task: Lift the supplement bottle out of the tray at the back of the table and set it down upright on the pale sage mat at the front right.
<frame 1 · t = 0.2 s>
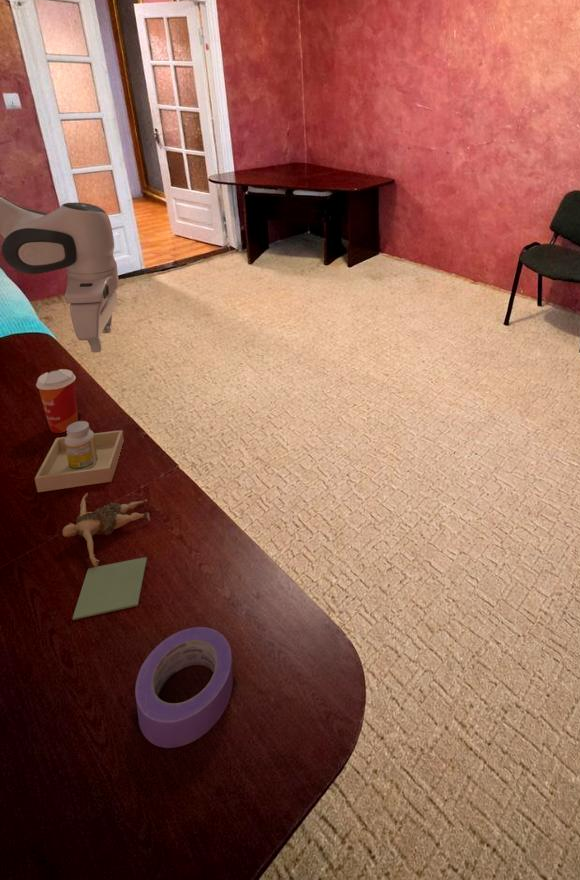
hand: (102, 341, 104), 26 cm above the table, tool pointing down, fingers open, 8 cm apart
mat: (112, 587, 79), on the table
paper cup: (64, 427, 117), on the table
supplement bottle: (83, 464, 105), resting on tray
tray: (84, 465, 105), on the table
figurine: (109, 529, 90), on the table, touching mat
tape roll: (187, 696, 66), on the table
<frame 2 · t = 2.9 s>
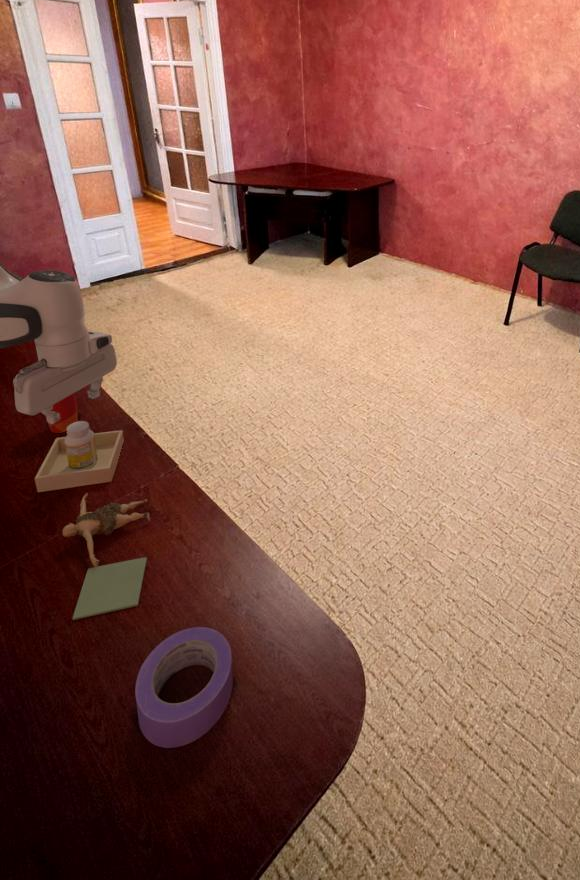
hand: (75, 408, 100), 14 cm above the table, tool pointing down, fingers open, 8 cm apart
nothing on the table moved.
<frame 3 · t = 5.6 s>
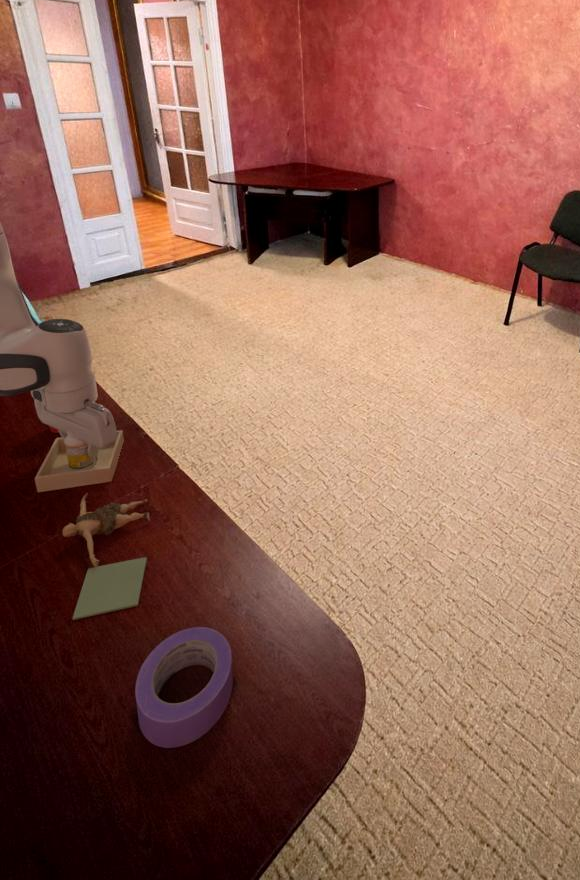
hand: (81, 449, 104), 4 cm above the table, tool pointing down, fingers closed on supplement bottle, 5 cm apart
supplement bottle: (83, 464, 105), resting on tray, touching gripper
everything else where it was.
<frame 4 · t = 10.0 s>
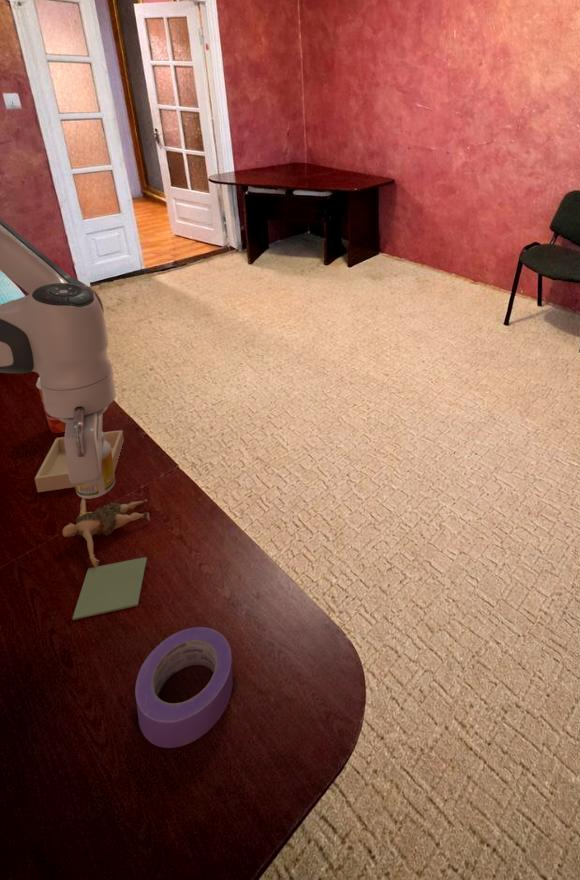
hand: (93, 468, 75), 21 cm above the table, tool pointing down, fingers closed on supplement bottle, 5 cm apart
supplement bottle: (96, 488, 77), point 17 cm above the table, touching gripper
everything else where it was.
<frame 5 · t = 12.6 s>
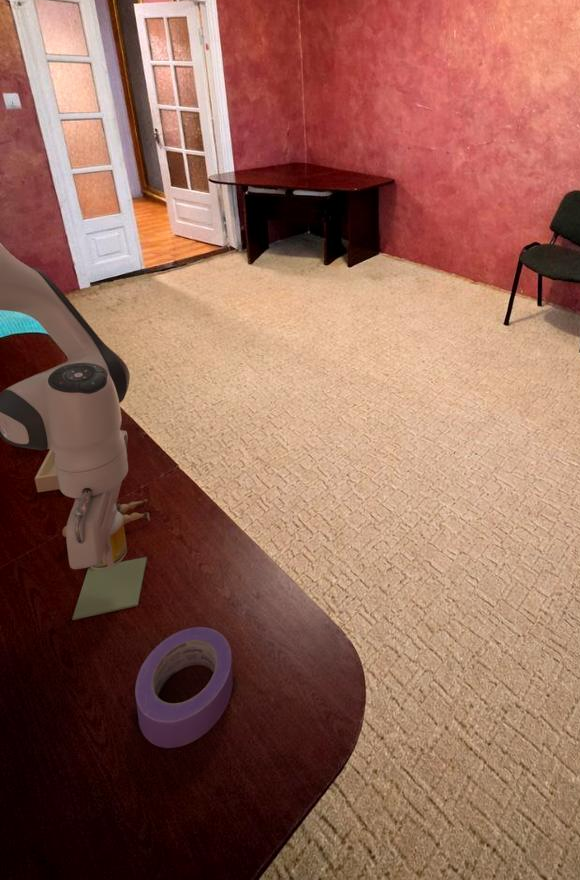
hand: (105, 539, 76), 10 cm above the table, tool pointing down, fingers closed on supplement bottle, 5 cm apart
supplement bottle: (108, 557, 77), point 6 cm above the table, touching gripper
everything else where it was.
when the fingers open (4 cm above the table, at t = 14.6 s): supplement bottle stays where it is, resting on mat.
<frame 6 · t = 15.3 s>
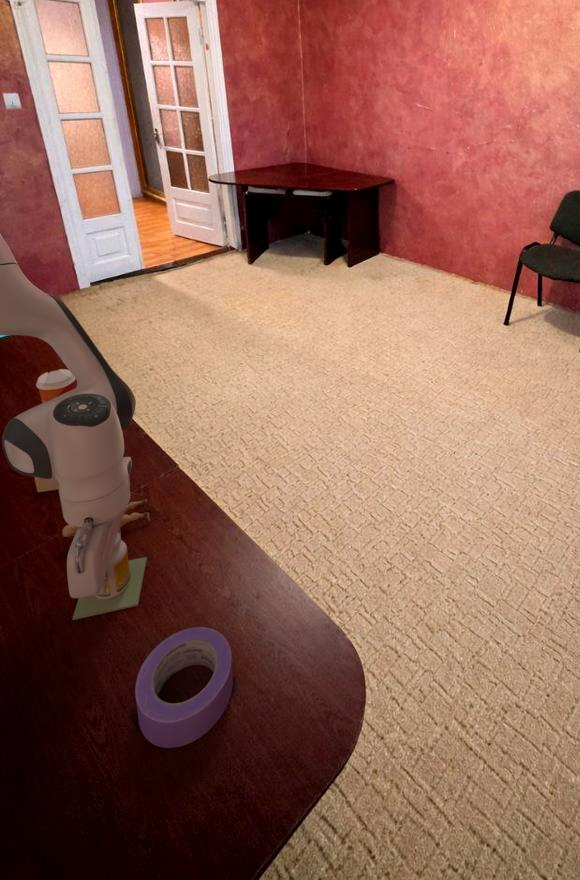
hand: (107, 564, 78), 5 cm above the table, tool pointing down, fingers open, 8 cm apart
supplement bottle: (112, 585, 79), resting on mat
everything else where it was.
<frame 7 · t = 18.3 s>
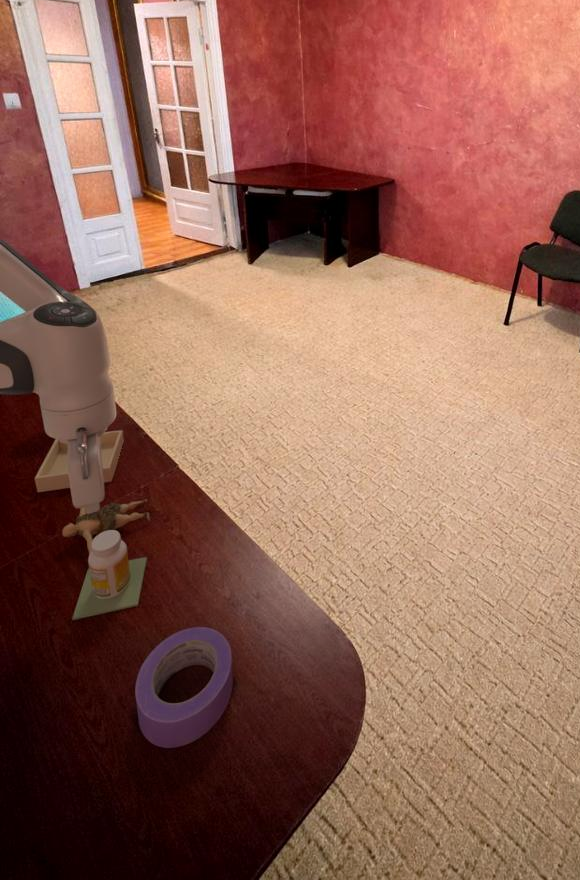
hand: (91, 488, 74), 19 cm above the table, tool pointing down, fingers open, 8 cm apart
nothing on the table moved.
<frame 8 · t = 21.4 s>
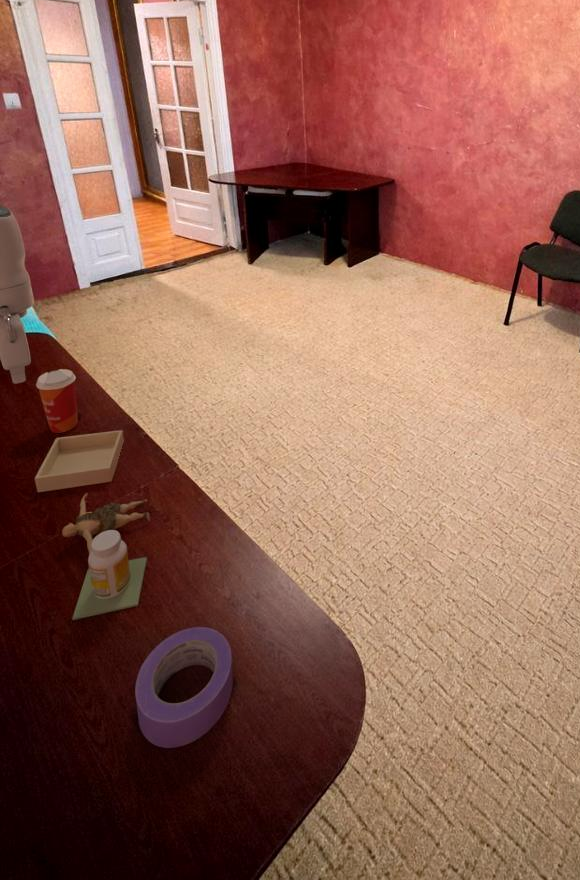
hand: (15, 370, 86), 29 cm above the table, tool pointing down, fingers open, 8 cm apart
nothing on the table moved.
at the end: supplement bottle inside the target area on the mat (0.1 cm from its centre), point 0.2 cm above the mat's base; supplement bottle tilted 0° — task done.
